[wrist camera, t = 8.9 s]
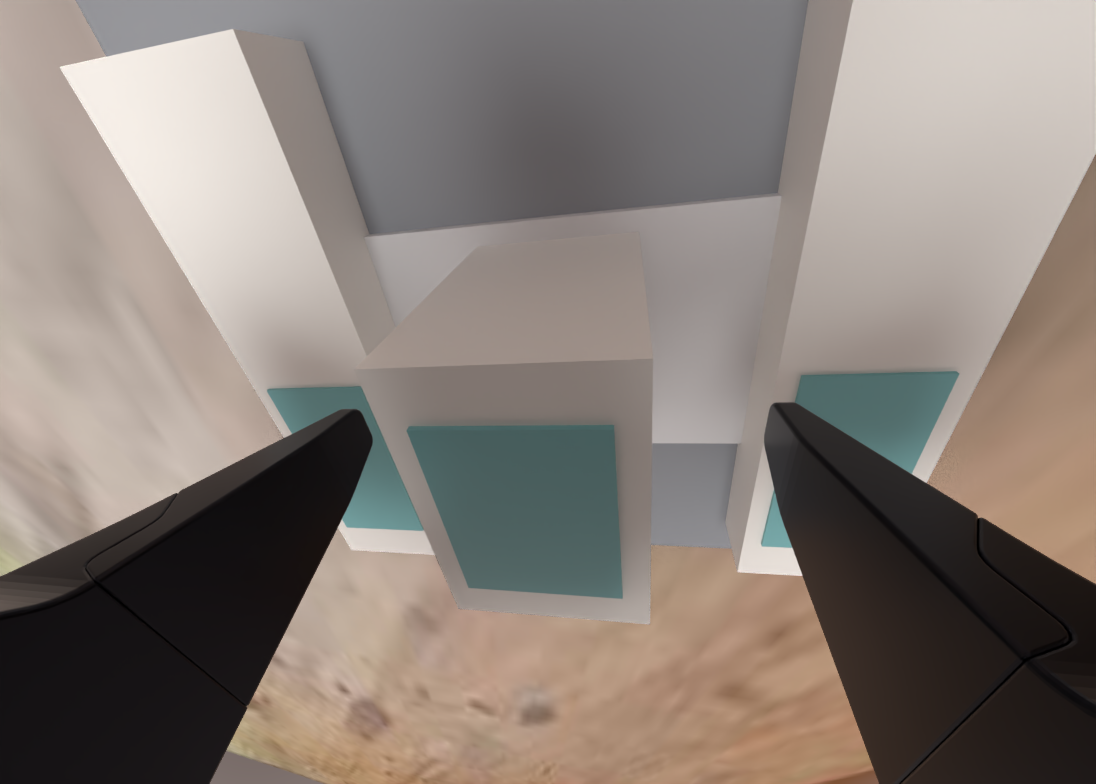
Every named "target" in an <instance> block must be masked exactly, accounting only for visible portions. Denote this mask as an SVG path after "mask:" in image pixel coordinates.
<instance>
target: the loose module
mask: <svg viewBox="0 0 1096 784" xmlns="http://www.w3.org/2000/svg"><path fill="white" fill-rule="evenodd" d="M354 371H355V374H356V376H357V378H358V380H359V383H360V385H361V387H362V390H363V392H364V394H365V396H366V399H367V401H368V403H369V406H370V408H371V410H372V412H373V415H374V417H375V419H376V421H377V424H378V426H379V428H380V431H381V433H382V435H383V437H384V440H385V442H386V444H387V447H388V449H389V451H390V453H391V456H392V458H393V460H394V463H395V465H396V467H397V469H398V472H399V474H400V476H401V479H402V481H403V483H404V485H405V488H406V490H407V492H408V494H409V497H410V499H411V501H412V504H413V506H414V508H415V510H416V513H417V515H418V517H419V520H420V522H421V524H422V526H423V529H424V531H425V533H426V536H427V538H428V540H429V542H430V545H431V547H432V549H433V552H434V554H435V556H436V558H437V561H438V563H439V565H440V567H441V570H442V572H443V574H444V577H445V579H446V581H447V583H448V586H449V588H450V590H451V593H452V595H453V597H454V599H455V602H456V604H457V606H458V609H467V610H480V611H492V612H504V613H516V614H529V615H541V616H553V617H565V618H578V619H590V620H602V621H614V622H627V623H639V624H650V579H651V496H652V413H653V353H652V344H651V335H650V326H649V317H648V307H647V298H646V289H645V280H644V271H643V262H642V253H641V244H640V235H639V232H630V233H619V234H608V235H597V236H587V237H576V238H565V239H554V240H543V241H532V242H521V243H510V244H499V245H489V246H478V247H476V248H475V249H474V250H473V251H472V252H471V253H470V254H469V255H468V256H467V257H466V258H465V259H464V260H463V261H462V262H461V263H460V264H459V265H458V266H457V267H456V268H455V269H454V270H453V271H452V272H451V273H450V274H449V275H448V276H447V277H446V278H445V279H444V280H443V281H442V282H441V283H440V284H439V285H438V286H437V287H436V288H435V289H434V290H433V291H432V292H431V293H430V294H429V295H428V296H427V297H426V298H425V299H424V300H423V301H422V302H421V303H420V304H419V305H418V306H417V307H416V308H415V309H414V310H413V311H412V312H411V313H410V314H409V315H408V316H407V317H406V318H405V319H404V320H403V321H402V322H401V323H400V324H399V325H398V326H397V327H396V328H395V329H394V330H393V331H392V332H391V333H390V334H389V335H388V336H387V337H386V338H385V339H384V340H383V341H382V342H381V343H380V344H379V345H378V346H377V347H376V348H375V349H374V350H373V351H372V352H371V353H370V354H369V355H368V356H367V357H366V358H365V359H364V360H363V361H362V362H361V363H360V364H359V365H358V366H357V367H356V368H355V369H354Z"/></svg>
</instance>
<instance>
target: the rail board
mask: <svg viewBox="0 0 1096 784" xmlns="http://www.w3.org/2000/svg"><path fill="white" fill-rule="evenodd" d="M76 2H77V4H78V6H79V7H80V9H81V11H82V13H83V15H84V17H85V18H86V20H87V22H88V24H89V26H90V27H91V29H92V31H93V33H94V35H95V37H96V38H97V40H98V42H99V44H100V46H101V47H102V49H103V51H104V53H105V55H106V57H102V58H98V59H93V60H89V61H84V62H80V63H75V64H70V65H66V66H61V67H60V69H61V70H62V72H63V74H64V75H65V77H66V79H67V80H68V82H69V84H70V85H71V87H72V89H73V90H74V92H75V93H76V95H77V97H78V98H79V100H80V102H81V103H82V105H83V107H84V108H85V110H86V112H87V113H88V115H89V117H90V118H91V120H92V122H93V123H94V125H95V127H96V128H97V130H98V132H99V133H100V135H101V136H102V138H103V140H104V141H105V143H106V145H107V146H108V148H109V150H110V151H111V153H112V155H113V156H114V158H115V160H116V161H117V163H118V165H119V166H120V168H121V170H122V171H123V173H124V175H125V176H126V178H127V179H128V181H129V183H130V184H131V186H132V188H133V189H134V191H135V193H136V194H137V196H138V198H139V199H140V201H141V203H142V204H143V206H144V208H145V209H146V211H147V213H148V214H149V216H150V218H151V219H152V221H153V222H154V224H155V226H156V227H157V229H158V231H159V232H160V234H161V236H162V237H163V239H164V241H165V242H166V244H167V246H168V247H169V249H170V251H171V252H172V254H173V256H174V257H175V259H176V261H177V262H178V264H179V265H180V267H181V269H182V270H183V272H184V274H185V275H186V277H187V279H188V280H189V282H190V284H191V285H192V287H193V289H194V290H195V292H196V294H197V295H198V297H199V299H200V300H201V302H202V304H203V305H204V307H205V309H206V310H207V312H208V313H209V315H210V317H211V318H212V320H213V322H214V323H215V325H216V327H217V328H218V330H219V332H220V333H221V335H222V337H223V338H224V340H225V342H226V343H227V345H228V347H229V348H230V350H231V352H232V353H233V355H234V356H235V358H236V360H237V361H238V363H239V365H240V366H241V368H242V370H243V371H244V373H245V375H246V376H247V378H248V380H249V381H250V383H251V385H252V386H253V388H254V390H255V391H256V393H257V395H258V396H259V398H260V399H261V401H262V403H263V404H264V406H265V408H266V409H267V411H268V413H269V414H270V416H271V418H272V419H273V421H274V423H275V424H276V426H277V428H278V429H279V431H280V433H281V434H282V436H283V438H285V437H287V436H289V435H291V434H293V433H295V432H297V431H299V430H301V429H303V428H305V427H307V426H309V425H311V424H313V423H315V422H317V421H319V420H321V419H323V418H324V417H326V416H328V415H330V414H332V413H334V412H336V411H338V410H341V409H358V410H360V411H361V412H362V414H363V416H364V418H365V421H366V423H367V425H368V427H369V429H370V432H371V434H372V437H373V444H372V448H371V450H370V453H369V456H368V458H367V461H366V463H365V466H364V469H363V471H362V474H361V477H360V479H359V482H358V484H357V487H356V490H355V492H354V495H353V497H352V500H351V502H350V504H349V506H348V508H347V510H346V512H345V514H344V516H343V518H342V520H341V522H340V524H339V526H338V528H339V530H340V532H341V533H342V535H343V537H344V538H345V540H346V542H347V543H348V545H349V547H350V548H351V550H358V551H376V552H393V553H411V554H428V555H435V554H434V552H433V549H432V547H431V545H430V542H429V540H428V538H427V536H426V533H425V531H424V529H423V526H422V524H421V522H420V520H419V517H418V515H417V513H416V510H415V508H414V506H413V504H412V501H411V499H410V497H409V494H408V492H407V490H406V488H405V485H404V483H403V481H402V479H401V476H400V474H399V472H398V469H397V467H396V465H395V463H394V460H393V458H392V456H391V453H390V451H389V449H388V447H387V444H386V442H385V440H384V437H383V435H382V433H381V431H380V428H379V426H378V424H377V421H376V419H375V417H374V415H373V412H372V410H371V408H370V406H369V403H368V401H367V399H366V396H365V394H364V392H363V390H362V387H361V385H360V383H359V380H358V378H357V376H356V374H355V371H354V369H355V368H356V367H357V366H358V365H359V364H360V363H361V362H362V361H363V360H364V359H365V358H366V357H367V356H368V355H369V354H370V353H371V352H372V351H373V350H374V349H375V348H376V347H377V346H378V345H379V344H380V343H381V342H382V341H383V340H384V339H385V338H386V337H387V336H388V335H389V334H390V333H391V332H392V331H393V330H394V329H395V328H396V327H397V326H398V325H399V324H400V323H401V322H402V321H403V320H404V319H405V318H406V317H407V316H408V315H409V314H410V313H411V312H412V311H413V310H414V309H415V308H416V307H417V306H418V305H419V304H420V303H421V302H422V301H423V300H424V299H425V298H426V297H427V296H428V295H429V294H430V293H431V292H432V291H433V290H434V289H435V288H436V287H437V286H438V285H439V284H440V283H441V282H442V281H443V280H444V279H445V278H446V277H447V276H448V275H449V274H450V273H451V272H452V271H453V270H454V269H455V268H456V267H457V266H458V265H459V264H460V263H461V262H462V261H463V260H464V259H465V258H466V257H467V256H468V255H469V254H470V253H471V252H472V251H473V250H474V249H475V248H476V247H478V246H489V245H499V244H510V243H521V242H532V241H543V240H554V239H565V238H576V237H587V236H597V235H608V234H619V233H630V232H639V235H640V244H641V253H642V262H643V271H644V280H645V289H646V298H647V307H648V317H649V326H650V335H651V344H652V353H653V413H652V496H651V545H667V546H688V547H709V548H730V549H732V552H733V556H734V560H735V565H736V569H737V572H743V573H760V574H778V575H795V576H802V573H801V570H800V567H799V565H798V562H797V559H796V557H795V554H794V551H793V548H792V546H791V543H790V540H789V538H788V535H787V532H786V529H785V527H784V524H783V521H782V518H781V515H780V511H779V507H778V503H777V499H776V495H775V490H774V486H773V482H772V477H771V473H770V469H769V464H768V460H767V455H766V451H765V446H764V433H765V428H766V423H767V418H768V413H769V409H770V406H771V405H772V404H773V403H775V402H795V403H797V404H799V405H801V406H802V407H804V408H805V409H807V410H809V411H810V412H812V413H814V414H815V415H817V416H818V417H820V418H822V419H823V420H825V421H827V422H828V423H830V424H831V425H833V426H835V427H836V428H838V429H840V430H841V431H843V432H844V433H846V434H848V435H849V436H851V437H853V438H854V439H856V440H857V441H859V442H861V443H862V444H864V445H866V446H867V447H869V448H870V449H872V450H874V451H875V452H877V453H878V454H880V455H882V456H883V457H885V458H887V459H888V460H890V461H891V462H893V463H895V464H896V465H898V466H900V467H901V468H903V469H904V470H906V471H908V472H909V473H911V474H913V475H914V476H916V477H917V478H919V479H921V480H922V481H924V482H926V483H927V481H928V479H929V477H930V475H931V474H932V472H933V470H934V468H935V466H936V464H937V462H938V460H939V458H940V456H941V454H942V452H943V450H944V448H945V446H946V444H947V442H948V440H949V438H950V437H951V435H952V433H953V431H954V429H955V427H956V425H957V423H958V421H959V419H960V417H961V415H962V413H963V411H964V409H965V407H966V405H967V403H968V401H969V400H970V398H971V396H972V394H973V392H974V390H975V388H976V386H977V384H978V382H979V380H980V378H981V376H982V374H983V372H984V370H985V368H986V366H987V364H988V363H989V361H990V359H991V357H992V355H993V353H994V351H995V349H996V347H997V345H998V343H999V341H1000V339H1001V337H1002V335H1003V333H1004V331H1005V329H1006V327H1007V325H1008V324H1009V322H1010V320H1011V318H1012V316H1013V314H1014V312H1015V310H1016V308H1017V306H1018V304H1019V302H1020V300H1021V298H1022V296H1023V294H1024V292H1025V290H1026V288H1027V287H1028V285H1029V283H1030V281H1031V279H1032V277H1033V275H1034V273H1035V271H1036V269H1037V267H1038V265H1039V263H1040V261H1041V259H1042V257H1043V255H1044V253H1045V251H1046V250H1047V248H1048V246H1049V244H1050V242H1051V240H1052V238H1053V236H1054V234H1055V232H1056V230H1057V228H1058V226H1059V224H1060V222H1061V220H1062V218H1063V216H1064V214H1065V213H1066V211H1067V209H1068V207H1069V205H1070V203H1071V201H1072V199H1073V197H1074V195H1075V193H1076V191H1077V189H1078V187H1079V185H1080V183H1081V181H1082V179H1083V177H1084V175H1085V174H1086V172H1087V170H1088V168H1089V166H1090V164H1091V162H1092V160H1093V158H1094V156H1095V154H1096V0H76Z"/></svg>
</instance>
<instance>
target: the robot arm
mask: <svg viewBox="0 0 1096 784" xmlns="http://www.w3.org/2000/svg"><path fill="white" fill-rule="evenodd" d="M372 444H373V437H372V434H371V432H370V429H369V427H368V425H367V423H366V421H365V418H364V416H363V414H362V412H361V411H360V410H358V409H341V410H338V411H336V412H334V413H332V414H330V415H328V416H326V417H324V418H323V419H321V420H319V421H317V422H315V423H313V424H311V425H309V426H307V427H305V428H303V429H301V430H299V431H297V432H295V433H293V434H291V435H289V436H287V437H285V438H283V439H281V440H279V441H277V442H275V443H273V444H271V445H269V446H267V447H266V448H264V449H262V450H260V451H258V452H256V453H254V454H252V455H250V456H248V457H246V458H244V459H242V460H240V461H238V462H236V463H234V464H232V465H230V466H228V467H226V468H224V469H222V470H220V471H218V472H216V473H214V474H212V475H211V476H209V477H207V478H205V479H203V480H201V481H199V482H197V483H195V484H193V485H191V486H189V487H187V488H185V489H183V490H181V491H180V492H179V493H175V494H173V495H171V496H169V497H167V498H165V499H163V500H161V501H159V502H157V503H155V504H153V505H151V506H149V507H147V508H145V509H143V510H141V511H139V512H137V513H135V514H133V515H131V516H129V517H127V518H125V519H123V520H121V521H119V522H117V523H115V524H112V525H110V526H108V527H106V528H104V529H102V530H100V531H98V532H96V533H94V534H91V535H89V536H87V537H85V538H83V539H81V540H78V541H76V542H74V543H72V544H70V545H68V546H66V547H63V548H61V549H59V550H57V551H55V552H53V553H50V554H48V555H46V556H44V557H42V558H40V559H37V560H35V561H33V562H31V563H29V564H27V565H25V566H22V567H20V568H18V569H16V570H14V571H12V572H9V573H7V574H5V575H3V576H0V784H210V782H211V779H212V778H213V776H214V774H215V772H216V770H217V768H218V766H219V763H220V761H221V760H222V758H223V756H224V754H225V752H226V750H227V748H228V746H229V744H230V742H231V740H232V738H233V736H234V734H235V732H236V730H237V728H238V726H239V724H240V722H241V720H242V718H243V716H244V714H245V712H246V710H247V706H248V705H249V703H250V701H251V699H252V697H253V695H254V693H255V691H256V689H257V687H258V685H259V683H260V681H261V679H262V677H263V675H264V673H265V671H266V669H267V667H268V666H269V664H270V662H271V660H272V658H273V656H274V654H275V652H276V650H277V648H278V646H279V644H280V642H281V640H282V638H283V636H284V634H285V632H286V630H287V628H288V626H289V624H290V622H291V620H292V618H293V616H294V614H295V612H296V610H297V608H298V606H299V604H300V602H301V600H302V598H303V596H304V594H305V592H306V590H307V588H308V586H309V584H310V582H311V580H312V578H313V576H314V574H315V572H316V570H317V568H318V566H319V564H320V562H321V560H322V558H323V556H324V554H325V552H326V550H327V548H328V546H329V544H330V542H331V540H332V538H333V536H334V534H335V532H336V530H337V528H338V526H339V524H340V522H341V520H342V518H343V516H344V514H345V512H346V510H347V508H348V506H349V504H350V502H351V500H352V497H353V495H354V492H355V490H356V487H357V484H358V482H359V479H360V477H361V474H362V471H363V469H364V466H365V463H366V461H367V458H368V456H369V453H370V450H371V448H372ZM764 446H765V451H766V455H767V460H768V464H769V469H770V473H771V477H772V482H773V486H774V490H775V495H776V499H777V503H778V507H779V511H780V515H781V518H782V521H783V524H784V527H785V529H786V532H787V535H788V538H789V540H790V543H791V546H792V548H793V551H794V554H795V557H796V559H797V562H798V565H799V567H800V570H801V573H802V576H803V578H804V581H805V584H806V586H807V589H808V592H809V595H810V597H811V600H812V603H813V605H814V608H815V611H816V614H817V616H818V619H819V622H820V624H821V627H822V630H823V633H824V635H825V638H826V641H827V643H828V646H829V649H830V652H831V654H832V657H833V660H834V662H835V665H836V668H837V671H838V673H839V676H840V679H841V681H842V684H843V687H844V690H845V692H846V695H847V698H848V700H849V703H850V706H851V709H852V711H853V714H854V717H855V719H856V722H857V725H858V728H859V730H860V733H861V736H862V738H863V741H864V744H865V747H866V749H867V752H868V755H869V757H870V760H871V763H872V766H873V768H874V771H875V774H876V776H877V779H878V782H879V784H1096V584H1095V583H1093V582H1091V581H1089V580H1088V579H1086V578H1084V577H1082V576H1080V575H1079V574H1077V573H1075V572H1073V571H1071V570H1070V569H1068V568H1066V567H1064V566H1063V565H1061V564H1059V563H1057V562H1055V561H1054V560H1052V559H1050V558H1049V557H1047V556H1045V555H1044V554H1042V553H1040V552H1039V551H1037V550H1035V549H1034V548H1032V547H1030V546H1029V545H1027V544H1025V543H1024V542H1022V541H1020V540H1019V539H1017V538H1015V537H1013V536H1012V535H1010V534H1009V533H1007V532H1005V531H1004V530H1002V529H1000V528H999V527H997V526H996V525H994V524H992V523H991V522H989V521H987V520H986V519H984V518H978V516H977V514H976V513H974V512H973V511H971V510H969V509H968V508H966V507H964V506H963V505H961V504H960V503H958V502H956V501H955V500H953V499H951V498H950V497H948V496H947V495H945V494H943V493H942V492H940V491H939V490H937V489H935V488H934V487H932V486H930V485H929V484H927V483H926V482H924V481H922V480H921V479H919V478H917V477H916V476H914V475H913V474H911V473H909V472H908V471H906V470H904V469H903V468H901V467H900V466H898V465H896V464H895V463H893V462H891V461H890V460H888V459H887V458H885V457H883V456H882V455H880V454H878V453H877V452H875V451H874V450H872V449H870V448H869V447H867V446H866V445H864V444H862V443H861V442H859V441H857V440H856V439H854V438H853V437H851V436H849V435H848V434H846V433H844V432H843V431H841V430H840V429H838V428H836V427H835V426H833V425H831V424H830V423H828V422H827V421H825V420H823V419H822V418H820V417H818V416H817V415H815V414H814V413H812V412H810V411H809V410H807V409H805V408H804V407H802V406H801V405H799V404H797V403H795V402H775V403H773V404H772V405H771V406H770V409H769V413H768V418H767V423H766V428H765V433H764Z"/></svg>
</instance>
